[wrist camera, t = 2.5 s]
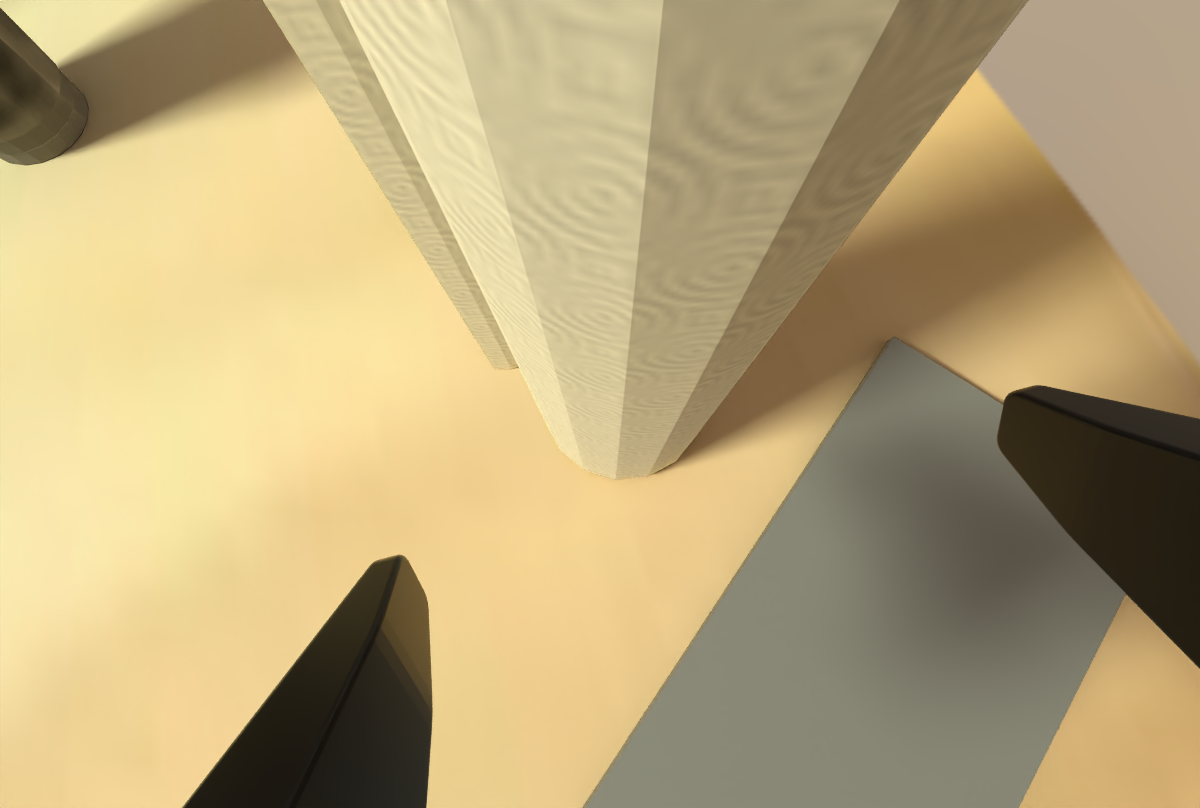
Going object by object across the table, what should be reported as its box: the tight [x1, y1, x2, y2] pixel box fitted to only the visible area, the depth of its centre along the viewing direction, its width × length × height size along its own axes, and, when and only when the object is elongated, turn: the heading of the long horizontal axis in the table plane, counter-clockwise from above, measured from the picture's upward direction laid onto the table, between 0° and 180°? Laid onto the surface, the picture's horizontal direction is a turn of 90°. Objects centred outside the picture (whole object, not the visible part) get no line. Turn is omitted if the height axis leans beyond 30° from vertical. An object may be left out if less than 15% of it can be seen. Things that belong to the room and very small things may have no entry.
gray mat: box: [583, 337, 1126, 808], centre depth 20 cm, size 24×11×1 cm, turn 144°
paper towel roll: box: [263, 0, 1028, 480], centre depth 12 cm, size 7×6×21 cm
